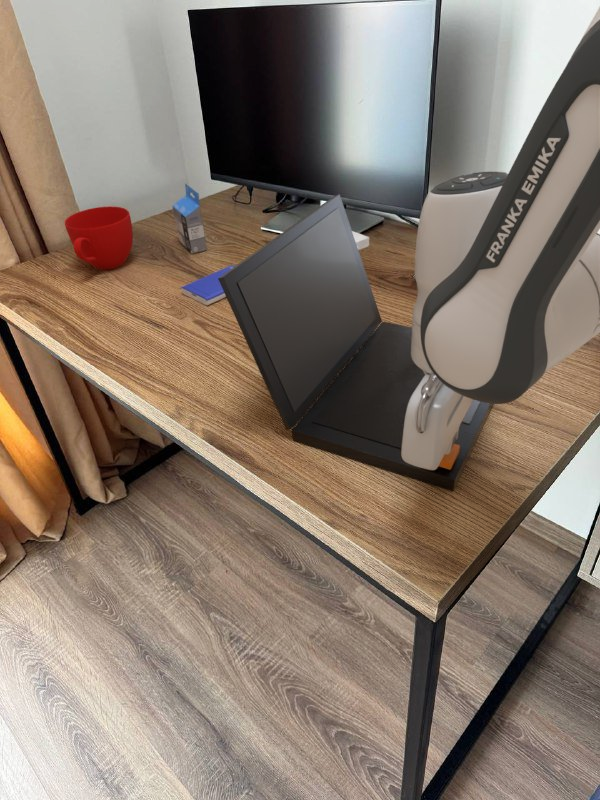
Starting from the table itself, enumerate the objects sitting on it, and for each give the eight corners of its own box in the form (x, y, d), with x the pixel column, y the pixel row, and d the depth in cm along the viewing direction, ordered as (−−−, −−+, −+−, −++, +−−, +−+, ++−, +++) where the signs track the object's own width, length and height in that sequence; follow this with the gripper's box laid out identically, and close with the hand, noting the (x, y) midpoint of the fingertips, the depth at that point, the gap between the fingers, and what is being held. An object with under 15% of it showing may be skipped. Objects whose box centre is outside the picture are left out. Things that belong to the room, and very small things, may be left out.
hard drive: (231, 264, 117) (180, 286, 110) (258, 274, 112) (206, 298, 105) (232, 271, 118) (181, 293, 111) (258, 282, 113) (207, 306, 106)
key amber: (459, 451, 68) (460, 445, 68) (450, 470, 66) (451, 463, 65) (431, 443, 70) (431, 437, 69) (421, 461, 67) (422, 454, 67)
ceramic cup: (57, 284, 118) (41, 236, 112) (95, 250, 131) (82, 206, 125) (117, 285, 116) (103, 237, 110) (149, 251, 129) (139, 206, 123)
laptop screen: (340, 193, 86) (335, 195, 86) (223, 277, 65) (217, 278, 66) (382, 321, 95) (377, 322, 95) (291, 429, 74) (286, 429, 75)
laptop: (514, 358, 87) (516, 348, 86) (453, 491, 66) (454, 479, 65) (382, 331, 96) (382, 320, 95) (292, 440, 75) (291, 429, 74)
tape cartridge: (178, 241, 132) (167, 186, 125) (194, 237, 134) (185, 182, 126) (191, 254, 126) (181, 197, 119) (208, 250, 127) (199, 193, 120)
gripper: (455, 406, 50) (443, 517, 58) (512, 302, 64) (496, 403, 72) (386, 389, 53) (384, 497, 61) (455, 293, 67) (446, 391, 75)
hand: (445, 445), depth 67 cm, fingers closed
